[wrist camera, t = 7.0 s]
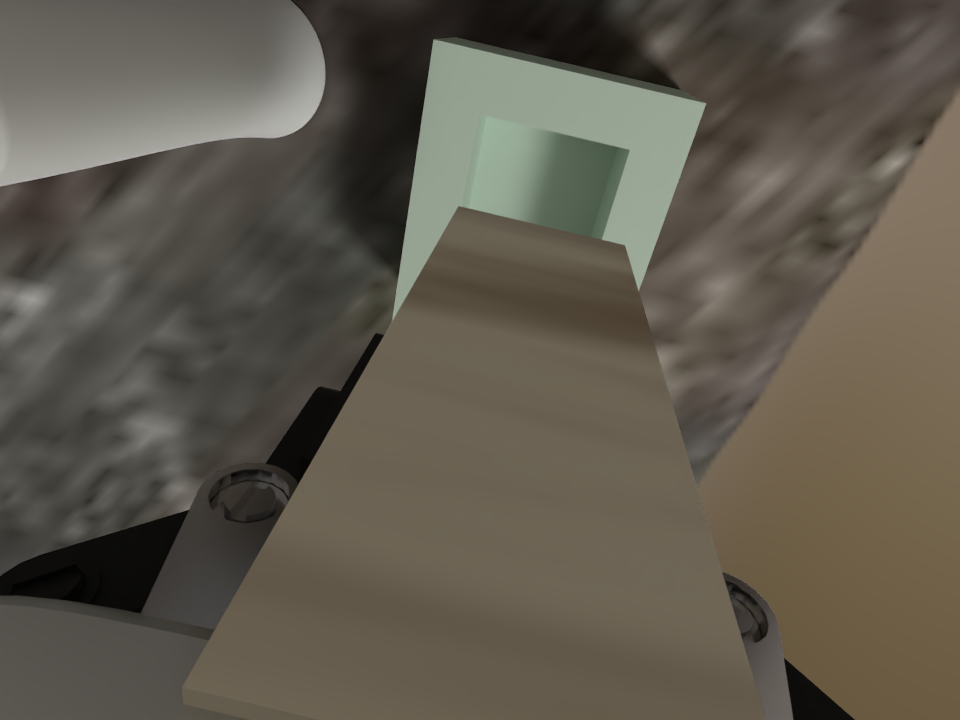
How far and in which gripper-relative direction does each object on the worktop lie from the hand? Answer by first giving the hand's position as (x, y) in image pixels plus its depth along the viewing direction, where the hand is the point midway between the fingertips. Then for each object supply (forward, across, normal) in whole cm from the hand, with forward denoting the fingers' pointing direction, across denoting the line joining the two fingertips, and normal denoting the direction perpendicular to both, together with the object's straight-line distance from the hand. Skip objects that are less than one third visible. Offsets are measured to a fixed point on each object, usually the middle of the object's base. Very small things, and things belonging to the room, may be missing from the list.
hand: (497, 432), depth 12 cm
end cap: (+18, 0, 0) cm, 18 cm away
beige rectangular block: (+4, 0, 0) cm, 4 cm away
